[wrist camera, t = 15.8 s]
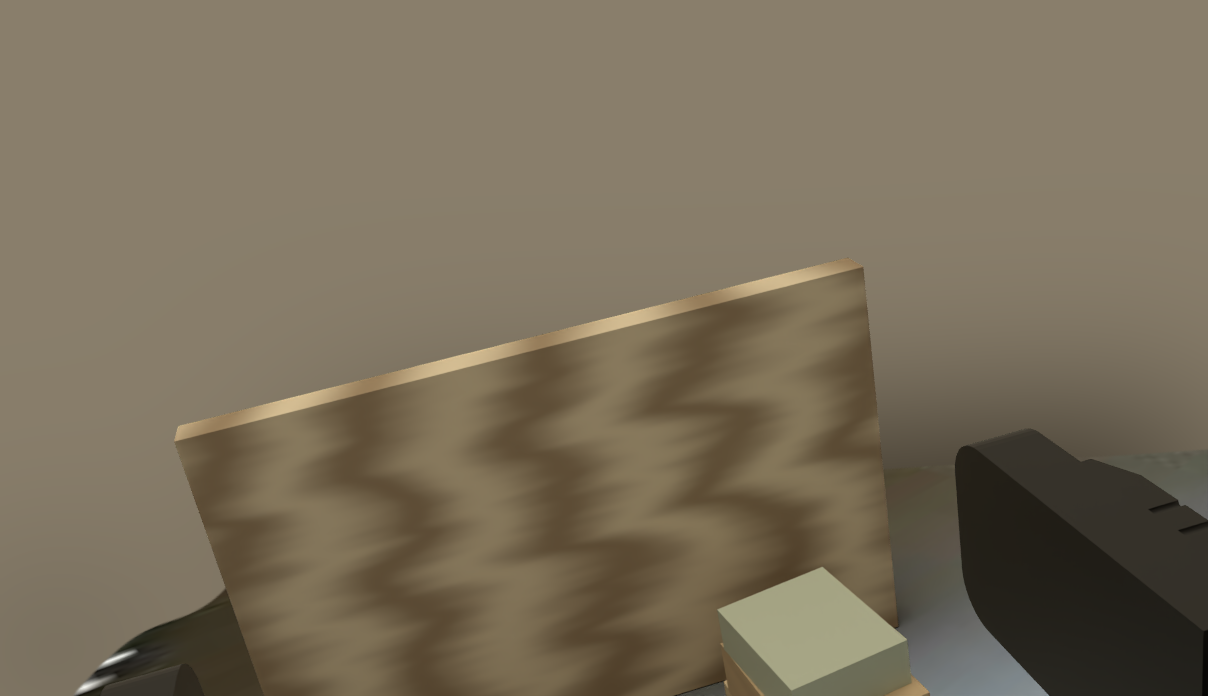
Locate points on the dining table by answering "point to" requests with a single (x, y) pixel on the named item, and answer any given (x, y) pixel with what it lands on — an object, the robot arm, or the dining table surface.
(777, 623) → the sage offcut
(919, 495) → the dining table surface
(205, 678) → the dining table surface
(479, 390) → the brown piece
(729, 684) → the oak offcut
